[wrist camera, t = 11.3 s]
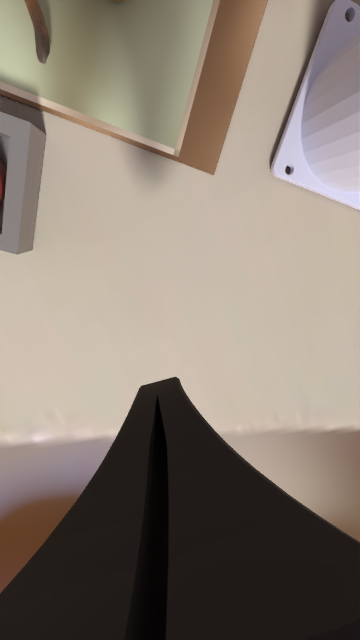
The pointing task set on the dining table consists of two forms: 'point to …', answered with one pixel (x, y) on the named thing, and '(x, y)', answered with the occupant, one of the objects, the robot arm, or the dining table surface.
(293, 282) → the dining table surface
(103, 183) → the dining table surface
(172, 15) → the picture sheet
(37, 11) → the lion figurine
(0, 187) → the button
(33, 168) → the button housing
